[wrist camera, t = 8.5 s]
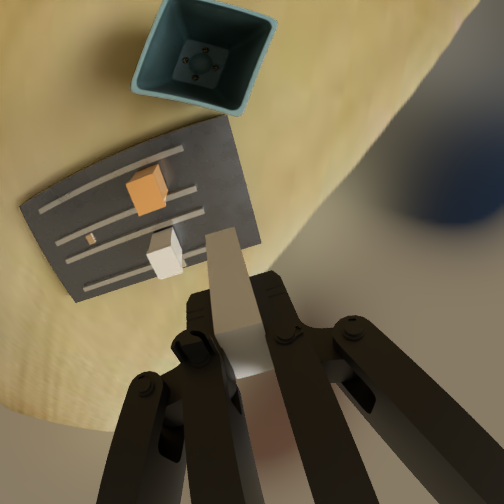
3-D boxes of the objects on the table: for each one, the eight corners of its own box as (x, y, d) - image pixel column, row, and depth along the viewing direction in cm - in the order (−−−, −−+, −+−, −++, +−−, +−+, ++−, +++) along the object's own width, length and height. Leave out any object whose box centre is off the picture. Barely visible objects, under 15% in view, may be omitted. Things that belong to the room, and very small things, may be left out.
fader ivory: (162, 257, 31) (159, 280, 27) (151, 233, 29) (146, 254, 25) (183, 250, 31) (182, 272, 27) (173, 225, 29) (170, 245, 25)
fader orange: (146, 199, 27) (139, 216, 23) (135, 171, 25) (125, 184, 22) (169, 191, 27) (165, 206, 23) (158, 162, 25) (152, 173, 22)
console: (79, 293, 33) (74, 305, 31) (26, 200, 25) (17, 208, 23) (257, 235, 34) (262, 245, 32) (224, 114, 26) (227, 115, 24)
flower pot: (228, 114, 26) (242, 119, 19) (146, 95, 23) (127, 92, 16) (255, 41, 23) (280, 20, 15) (174, 20, 20) (167, -10, 12)
